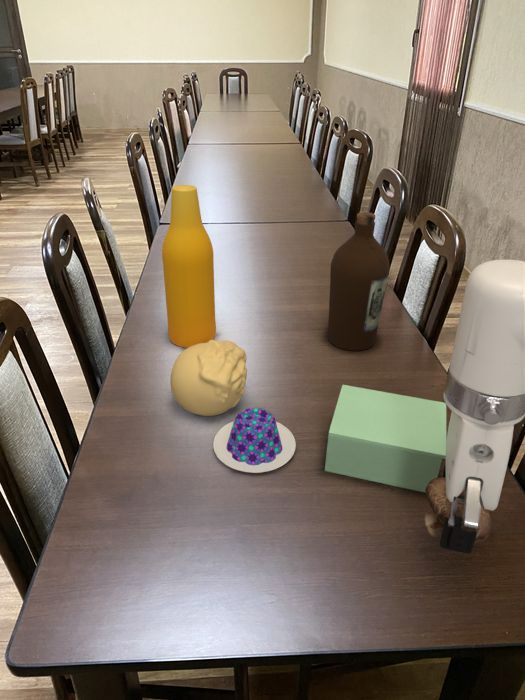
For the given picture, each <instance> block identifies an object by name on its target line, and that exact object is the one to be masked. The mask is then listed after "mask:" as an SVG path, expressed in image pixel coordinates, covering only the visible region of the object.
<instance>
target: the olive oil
mask: <svg viewBox="0 0 525 700" xmlns="http://www.w3.org/2000/svg"><path fill="white" fill-rule="evenodd" d="M375 220H376V214H375V213H373V212H370V211H361V212H358V213H356V220H355V224H354V234H353V235H352V236H350V238H348V239H347V240H346V241H344V243H342V244H341V245H340V246H339V247H337V249H336V251H335V252H334V254H333V257H332V259H331V262H330V271H329V272H330V273H329V275H330V276H329V280H330V281H329V302H328V322H327V323H328V324H327V340H328V342H329V343H330V344H331V345H333V346H334V347H336V348H338V349H341V350H346V351H350V352H360V351H365V350H368V349H370V348H372V347H373V346H374V345H375V344H376V341H377V335H378V329H379V325H380V324H379V323H380V319H381V314H382V309H383V303H384V300H385V296H386V295H385V294H386V290H387V284H388V281H389V275H390V259H389V256H388V254H387V252H386V250H385V249H384V247H383V246H382V245H381V244H380V243H379V241H378V240H377V239H376V238H375V236H374V234H375V227H376V222H375Z"/></svg>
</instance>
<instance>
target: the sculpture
mask: <svg viewBox="0 0 525 700" xmlns="http://www.w3.org/2000/svg"><path fill="white" fill-rule="evenodd" d="M246 363H247V353H246V351H245V350H244V349H243V348H241V347H240V346H239V345H238V344H237V343H235V342H233V341H232V340H219V341H218V340H215V339H213V340H210V341H209V342H207V343H200V344H196V345H193V346H191V347H189V348H185V349H184V350H182V351H181V353H180V354H179V355H178V356H177V358H176V359H175V361H174V363H173V365H172V368H171V373H170V379H169V381H170V389H171V393H172V395H173V398H174V399H175V401H176V403H177V404H178V405H179V406H180V407H181V408H182V409H184V410H185V411H187V412H189V413H191V414H194V415H198V416H203V417H214V416H219V415H221V414H224V413H226V412H227V411H229V410H230V409H233V408H235V407H236V406H237V404H238V403H239V402H240V401H241V399H242V397H243V395H244V394H245V393H246V389H245V388H244V387H246V384H247V377H248V375H247V374H248V369H247V367H246V366H247V365H246Z"/></svg>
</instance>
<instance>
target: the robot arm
mask: <svg viewBox="0 0 525 700" xmlns="http://www.w3.org/2000/svg"><path fill="white" fill-rule="evenodd" d="M464 288H465V289H464V293H463V296H462V297H463V299H462V302H461V307H460V312H459V318H458V322H457V327H456V331H455V337H454V342H453V345H452V346H453V347H452V352H451V357H450V361H449V366H448V371H447V375H446V381H445V386H444V390H443V400H444V403H446V407H447V408H448V409H449V410H450V411H451V413H450V419H449V423H448V427H447V432H446V459H445V462H444V467H443V471H442V475H441V477H445V478H446V497H447V498H448V500H449V501H450V502H451V505H450V512H449V518H445V522H444V526H443V530H442V534H441V535H440V537H439V538H440V539H439V548H441V549H443V550H448V551H453V552H457V553H461V554H465V555H470V554H472V552H473V550H474V545H475V539H476V535H477V532H478V529H479V527H478V526H479V519H480V512H481V506H482V502H483V506H484V509H486V510H488V511H492V512H493V511H495V510H496V509H497V508H498V506H499V502H500V498H501V495H502V494H501V493H502V490H503V486H504V482H505V479H506V473H507V469H508V464H509V460H510V455H511V449H512V445H513V437H514V428H515V425H516V424H518V423H520V422H521V421H522V420H524V418H525V260H518V259H493V260H488V261H485V262H483V263H480V264H478V265H476V266H475V267H474V268H473V269H472V271H470V273H469V275H468V277H467V281H466V284H465V287H464ZM463 490H465V497H464V496H459V495H460V494H461V493H462V492H463ZM458 504H463V505H464V510H463V515H462V517H459V516H456V512H457V505H458Z"/></svg>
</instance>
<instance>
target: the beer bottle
mask: <svg viewBox="0 0 525 700" xmlns="http://www.w3.org/2000/svg"><path fill="white" fill-rule="evenodd" d="M170 195H171V198H170V220H169V226H168V229H167V231H166V234H165V236H164V239H163V242H162V246H161V248H162V249H161V259H162V268H163V269H162V270H163V280H164V292H165V294H164V295H165V305H166V316H167V334H168V338H169V340H170V341H171V342H172V343H173V344H174V345H175V346H177V347H179V348H180V347H181V348H185V349H187V348H189V347H191V346H193V345H196V344H200V343H207V342H209V341H210V340H215V338H216V333H217V322H216V296H215V267H214V248H213V243H212V241H211V238H210V236H209V234H208V232H207V230H206V228H205V226H204V223H203V221H202V213H201V208H200V200H199V195H198V189H197V187H196V186H195V185H192V184H191V185H190V184H179V185H178V184H177V185H174V186H172V187H171V194H170Z"/></svg>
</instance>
